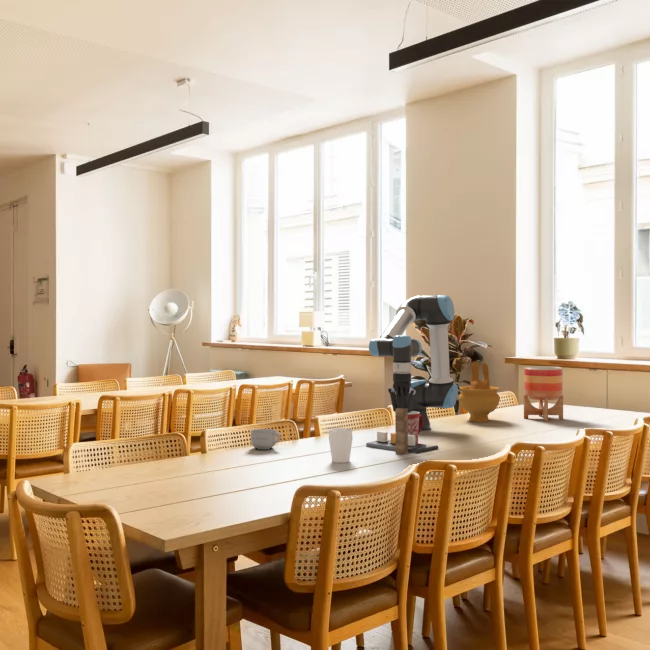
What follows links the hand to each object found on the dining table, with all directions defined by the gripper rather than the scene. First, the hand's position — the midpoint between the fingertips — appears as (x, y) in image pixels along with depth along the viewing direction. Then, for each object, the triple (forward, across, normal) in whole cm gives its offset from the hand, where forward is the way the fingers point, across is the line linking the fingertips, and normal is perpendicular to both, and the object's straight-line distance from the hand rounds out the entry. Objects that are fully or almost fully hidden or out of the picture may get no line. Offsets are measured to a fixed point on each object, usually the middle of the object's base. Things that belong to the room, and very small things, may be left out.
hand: (402, 429), depth 297 cm
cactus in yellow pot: (+8, -12, +88) cm, 89 cm away
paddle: (+7, -10, 0) cm, 12 cm away
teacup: (+8, -44, -36) cm, 57 cm away
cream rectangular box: (+7, +4, 0) cm, 7 cm away
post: (+8, +6, -9) cm, 13 cm away
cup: (+8, -4, -35) cm, 37 cm away
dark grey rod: (+8, +11, +2) cm, 13 cm away
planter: (+8, +12, +113) cm, 114 cm away
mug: (+8, -3, +13) cm, 15 cm away
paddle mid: (+7, -3, 0) cm, 7 cm away
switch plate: (+8, -3, 0) cm, 9 cm away
